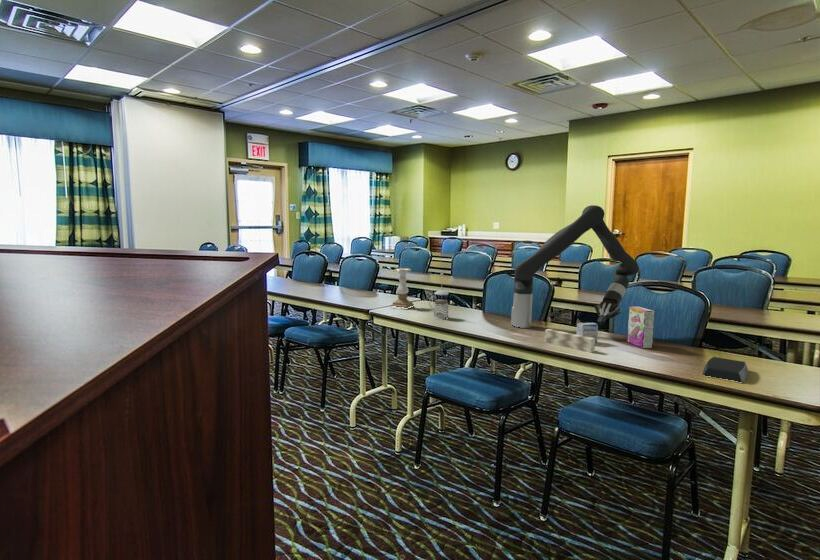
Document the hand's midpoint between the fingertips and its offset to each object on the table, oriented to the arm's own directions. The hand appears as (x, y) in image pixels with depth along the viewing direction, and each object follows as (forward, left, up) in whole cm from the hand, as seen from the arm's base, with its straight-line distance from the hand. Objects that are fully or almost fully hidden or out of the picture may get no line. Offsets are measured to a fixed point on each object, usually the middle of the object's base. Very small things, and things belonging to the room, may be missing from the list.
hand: (600, 323), depth 217 cm
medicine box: (0, -11, -7) cm, 13 cm away
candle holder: (-116, -22, -7) cm, 118 cm away
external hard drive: (+54, -12, -8) cm, 56 cm away
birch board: (-1, -24, -7) cm, 25 cm away
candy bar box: (+17, +3, -7) cm, 19 cm away
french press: (-79, -26, -7) cm, 84 cm away
